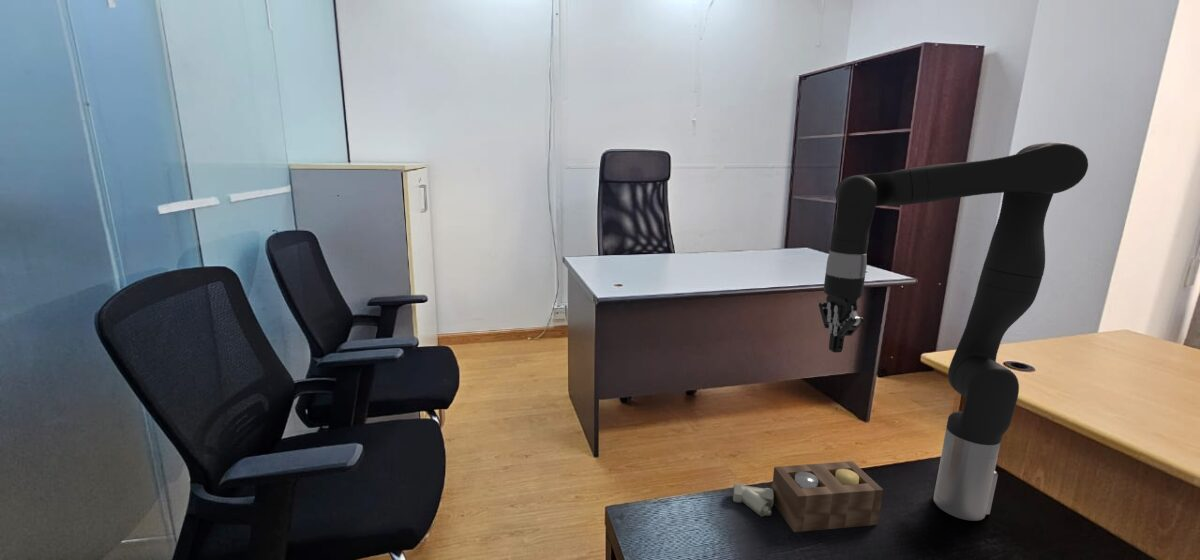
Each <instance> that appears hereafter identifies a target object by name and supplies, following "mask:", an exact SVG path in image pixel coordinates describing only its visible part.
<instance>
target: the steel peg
mask: <svg viewBox="0 0 1200 560" xmlns="http://www.w3.org/2000/svg"><path fill="white" fill-rule="evenodd" d="M795 482H796V483H797V484H798V486H799V487H800V488H813V487H818V478H817V477H816V476H815V475H813V474H811V473H808V472H798V473H796V474H795Z"/></svg>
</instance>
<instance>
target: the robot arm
mask: <svg viewBox="0 0 1200 560" xmlns="http://www.w3.org/2000/svg"><path fill="white" fill-rule="evenodd" d="M1088 161H1089V159H1088V157H1087V154H1086V153H1085V152H1084V151H1083V149H1082V148H1080V147H1079V146H1076V145H1074V144H1071V143H1068V142H1063V141H1050V142H1049V141H1048V142H1042V143H1036V144H1035V143H1034V144H1031V145H1028V146H1025V147H1023V148H1022V149H1020V150H1019V151H1018V152H1017V153H1016V154H1011V155H1007V156H1003V157H996V158H991V159H986V160H985V159H982V160H975V161H965V162H964V161H963V162H952V163H951V162H950V163H941V164H939V163H938V164H933V165H932V164H930V165H924V166H923V165H922V166H917V167H916V166H915V167H909V168H903V169H898V170H894V171H890V172H878V173H876V172H875V173H865V174H855V175H851V176H847V177H845V178H843V179H842V180H841V181H840V182H839V183H838V184H837V186H836V188H835V191H834V197H835V200H836V202H837V208H836V209H837V210H836V219H835V225H834V226H833V228H832V232H831V238H830V245H829V253H828V257H827V260H826V267H825V274H824V275H825V277H824V284H823V293H824V294H825V295H826V298H825V301H823V302H819V303H818V308H819V312H820V315H821V318H822V322H823V327H824V329H827V330H828V333H829V340H828V341H829V342H828V350H829V351H831V352H833V353H841V352H842V351H843V348H844V343H845V342H844V340H845V337H846V336H847V337H850V336H851V337H852V336H853V335H854V333H855V332H856V331H857V330H858V329H859V327H861V325H862V324H863V323H864V322H865V320H864V317H863V316H859V315H858V313H857V311H858V303H857V302H858V299H860V298H862V297H863V292H864V286H865V280H866V279H865V278H866V272H867V265H868V263H867V262H868V260H867V259H868V258H867V255H868V254H867V253H868V247H869V239H870V230H871V225H872V222H873V219H874V215H875V211H876V209H877V208H876V207H880V206H886V205H891V206H893V205H894V206H905V205H906V206H907V205H908V206H909V205H916V204H925V203H933V202H939V201H946V200H952V199H953V200H954V199H958V198H964V197H971V196H972V197H973V196H977V195H979V196H980V195H988V194H991V195H992V194H1001V193H1003V195H1002V200H1001V206H1000V210H999V215H998V219H997V221H996V225H995V228H994V231H993V234H992V237H991V240H990V243H989V246H988V250H987V254H986V257H985V260H984V262H983V266H982V269H981V272H980V276H979V280H978V282H977V283H978V284H977V287H976V292H975V296H974V299H973V302H972V306H971V308H970V311H969V313H968V314H969V315H968V318H967V321H966V325H965V327H964V330H963V332H962V335H961V338H960V340H959V342H958V344H957V347H956V350H955V352H954V354H953V357H952V359H951V361H950V363H949V367H948V372H947V378H948V382H949V385H950V386H951V387H952V389H953V390H954V391H955V392H957V393H958V394H960V395H961V396H962V397H963V398H965V402H964V405H963V409H962V411H961V410H960V411H954V412H952V413H950V414H949V415H948V417H947V423H946V426H945V431H944V438H943V444H942V449H941V454H940V460H939V467H938V472H937V477H936V483H935V487H934V493H933V498H932V499H933V502H934V503H935V505H936V506H937V508H939V509H940V510H941V511H943V512H944V513H946V514H948V515H949V516H952V517H955V518H957V519H960V520H963V521H964V520H965V521H972V522H973V521H974V522H975V521H976V522H977V521H982V520H983V519H985V518H986V516H988V515H990V514H991V509H992V504H993V499H994V497H995V496H994V495H995V492H996V491H995V490H996V488H997V487H996V486H997V482H998V477H999V475H998V472H997V471H996V467H997V461H998V457H999V452H1000V447H1001V441H1002V438H1003V435H1004V434H1005V433H1006V432H1007V431H1008V429H1009V427H1010V425H1011V423H1012V420H1013V416H1014V412H1015V409H1016V405H1017V401H1018V399H1019V393H1020V392H1019V391H1020V384H1019V380H1018V377H1017V376H1016V374H1015V372H1013V371H1012V370H1011V369H1009V368H1007V367H1006V366H1004V365H1002V364H1000V363H998V362H996V361H997V355H998V351H999V348H1000V345H1001V342H1002V340H1003V337H1004V336H1005V334H1006V332H1007V331H1008V329H1010V328H1011V326H1012V325H1013V324H1015V323H1016V322H1017V321H1018V320H1019V319H1020V318H1021V317H1022V316H1023V315H1025V313H1026V312H1027V311H1028V310H1029V309H1030V308H1031V306H1032V305H1033V303H1034V302H1035V300H1036V297H1037V295H1038V292H1039V290H1040V286H1041V283H1042V279H1043V276H1044V272H1045V268H1046V245H1045V223H1046V222H1045V220H1046V216H1047V213H1048V209H1049V206H1050V204H1051V201H1052V198H1053V196H1054V194H1058V193H1062V192H1065V191H1068V190H1070V189H1072V188H1074V187H1075V186H1077V184H1079V183H1080V182H1081V181H1082V180H1083V179H1084V178H1085V176H1086V174H1087V171H1088V169H1089V162H1088Z"/></svg>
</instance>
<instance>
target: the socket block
mask: <svg viewBox="0 0 1200 560" xmlns="http://www.w3.org/2000/svg"><path fill="white" fill-rule="evenodd" d="M838 469H848V470H851V471H853V472H855V473H856V474H857V475H858V476H859V483H858V484H852V485H842V484H841V483H840V482H839V481H838V480H837V479H836V478H835V474H836V470H838ZM798 472H808V473H811V474H813V475H815V476H816V477H817V478H818V487H813V488H800V487H799V486H798V484H797V483H796V482H795V474H796V473H798ZM772 475H773V477H772V484H771V489H773V492H774V502H773V506H774V507H775V508H776V509H777V511H778V512H779V513H780V515H781V516H782V517H783V519H784V520H785V522H786V523H787V524H788V526H789V527H790V529H791V530H792V531H793V533H801V532H802V533H803V532H811V531H821V530H822V531H823V530H834V529H846V528H855V527H856V528H857V527H867V526H876V525H877V526H878V525H879V519H880V513H881V506H882V500H883V495H884V494H883V493H884V489H883V488H882V487H881V486H880V485H879V484H878V483H877V482H876V481H875V480H873V479H872V478H871V477H870V476H869V475H868V474H867V473H866V472H865V471H864V470H863V469H861V467H859V466H858V465H857V463H855V462H854V461H840V462H839V461H837V462H836V461H835V462H823V463H812V464H811V463H810V464H796V465H794V464H793V465H779V466H774V468H773V474H772Z"/></svg>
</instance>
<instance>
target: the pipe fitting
mask: <svg viewBox="0 0 1200 560" xmlns="http://www.w3.org/2000/svg"><path fill="white" fill-rule="evenodd" d="M732 501H733V502H735V503H740V504H741V503H744V505H746V506H747V507H749V509H751V510H752V511H753V512H755V513H756V514H758V515H759V516H760V517H764V516H771V515H772V513H773V510H772V508H773V507H774V504H773V502H774V492H773V489H772V488H768V487H765V488H763V487H755V486H749V485H743V484H740V483H734V484H733V491H732Z"/></svg>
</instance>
